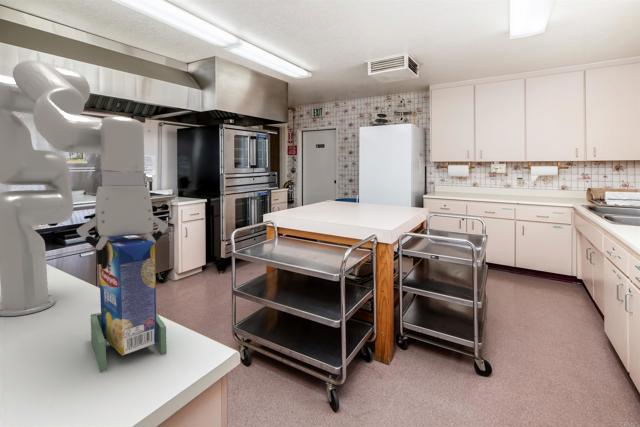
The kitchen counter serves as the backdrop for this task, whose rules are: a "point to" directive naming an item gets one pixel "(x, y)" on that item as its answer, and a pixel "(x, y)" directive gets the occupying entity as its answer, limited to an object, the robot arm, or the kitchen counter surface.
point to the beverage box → (128, 293)
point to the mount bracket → (100, 341)
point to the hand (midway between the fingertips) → (126, 264)
